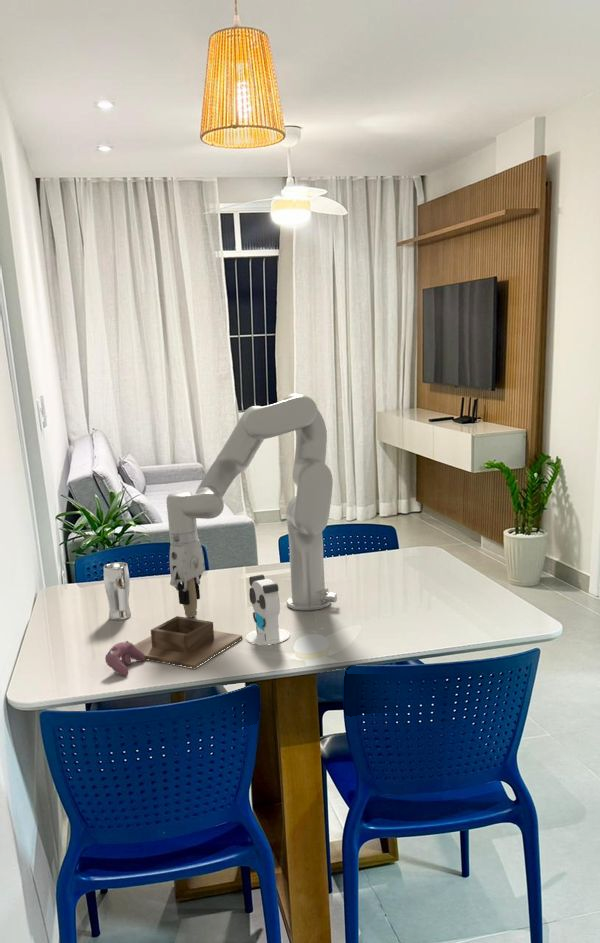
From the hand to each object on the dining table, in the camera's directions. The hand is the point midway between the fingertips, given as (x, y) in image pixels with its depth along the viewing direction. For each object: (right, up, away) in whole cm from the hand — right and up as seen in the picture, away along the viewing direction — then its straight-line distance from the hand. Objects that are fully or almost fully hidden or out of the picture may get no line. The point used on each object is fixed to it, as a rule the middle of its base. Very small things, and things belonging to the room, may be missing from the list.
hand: (189, 600), depth 211 cm
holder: (+1, -8, -21) cm, 22 cm away
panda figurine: (+22, -7, -16) cm, 28 cm away
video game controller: (-10, -11, -32) cm, 35 cm away
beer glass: (-20, -5, +4) cm, 21 cm away
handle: (0, -4, +1) cm, 4 cm away
